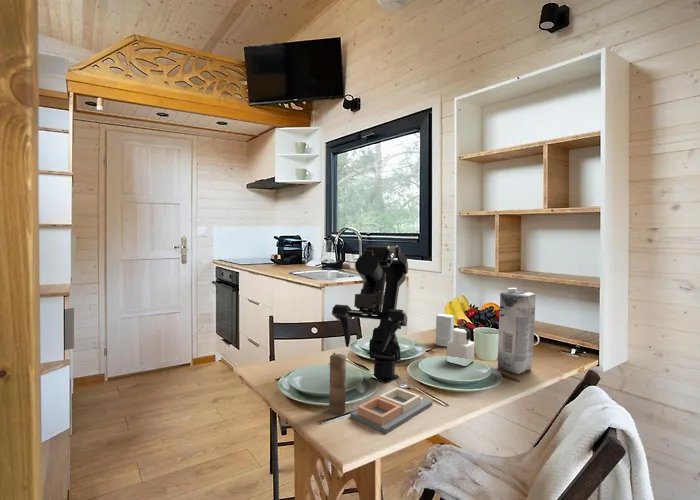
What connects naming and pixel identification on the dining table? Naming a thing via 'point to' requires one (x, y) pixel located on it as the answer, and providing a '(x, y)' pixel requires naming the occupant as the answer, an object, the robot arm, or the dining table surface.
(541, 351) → the dining table surface
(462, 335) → the medicine bottle
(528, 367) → the juice carton
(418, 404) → the board
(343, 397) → the walnut pin
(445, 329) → the skincare box
